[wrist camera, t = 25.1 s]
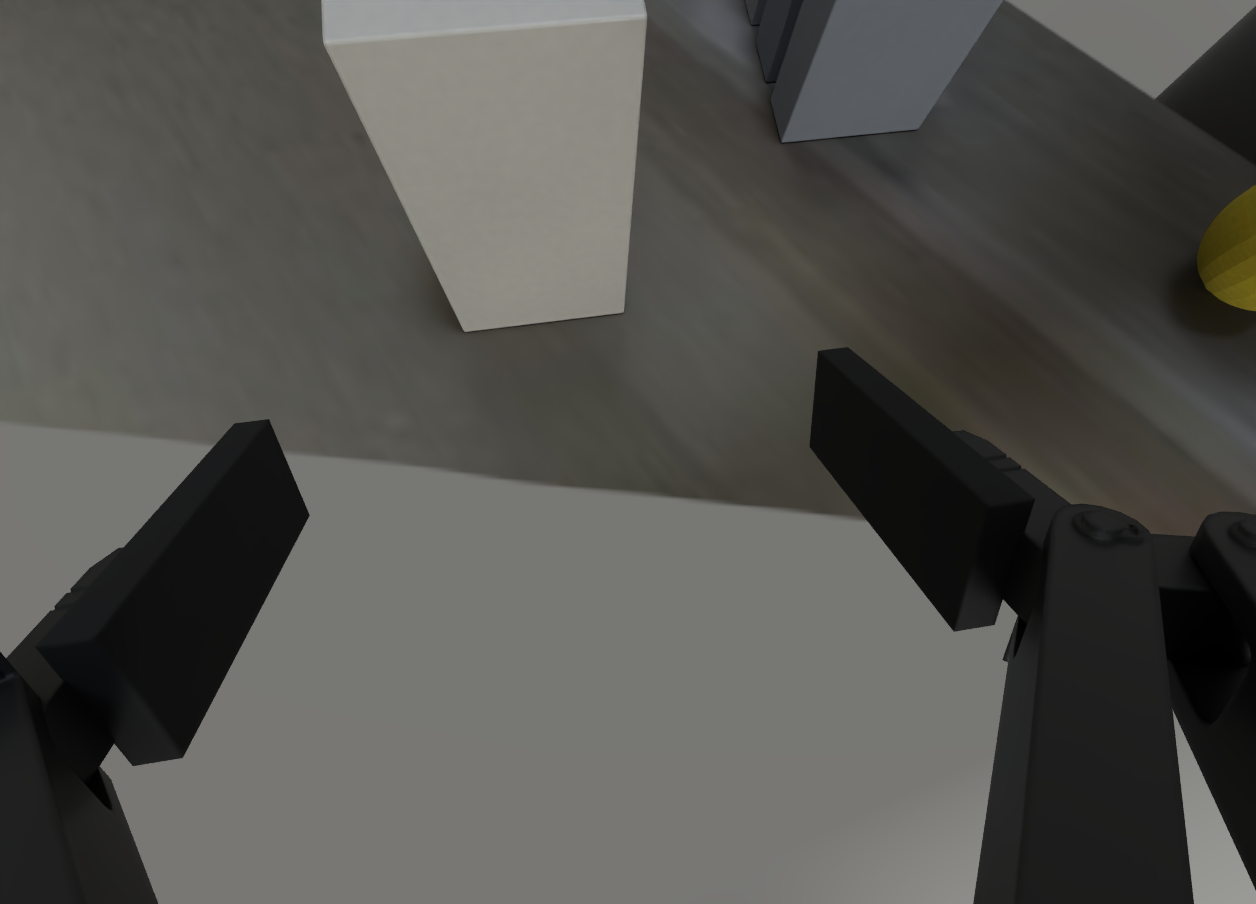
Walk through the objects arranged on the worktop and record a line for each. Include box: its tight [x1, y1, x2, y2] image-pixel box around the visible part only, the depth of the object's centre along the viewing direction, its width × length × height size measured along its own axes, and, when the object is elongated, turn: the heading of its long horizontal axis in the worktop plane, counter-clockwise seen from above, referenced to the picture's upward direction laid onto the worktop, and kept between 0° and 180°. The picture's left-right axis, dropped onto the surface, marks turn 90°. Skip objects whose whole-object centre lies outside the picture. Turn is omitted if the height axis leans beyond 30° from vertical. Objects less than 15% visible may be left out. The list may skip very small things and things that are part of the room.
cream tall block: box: [321, 0, 647, 332], centre depth 20 cm, size 3×7×14 cm, turn 99°
